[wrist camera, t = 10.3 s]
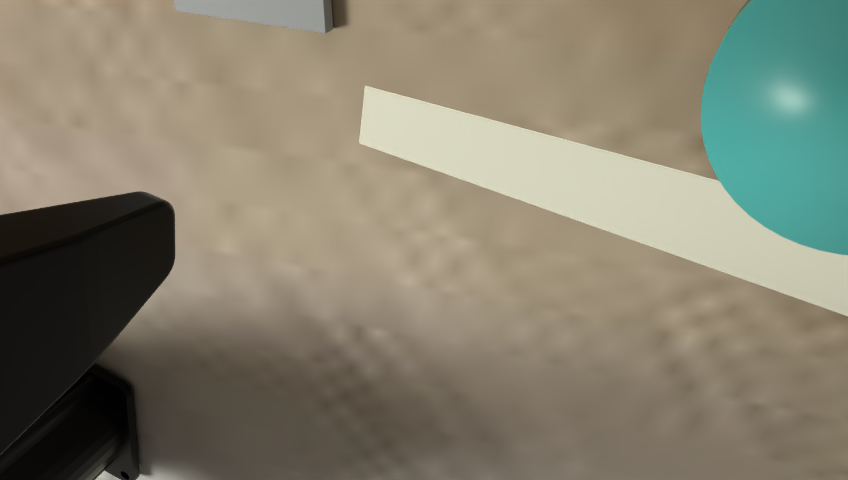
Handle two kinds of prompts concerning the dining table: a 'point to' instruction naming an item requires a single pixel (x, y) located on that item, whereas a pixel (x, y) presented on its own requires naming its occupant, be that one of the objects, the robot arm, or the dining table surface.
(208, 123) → the dining table surface
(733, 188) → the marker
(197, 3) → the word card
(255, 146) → the dining table surface
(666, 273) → the dining table surface
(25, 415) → the robot arm
